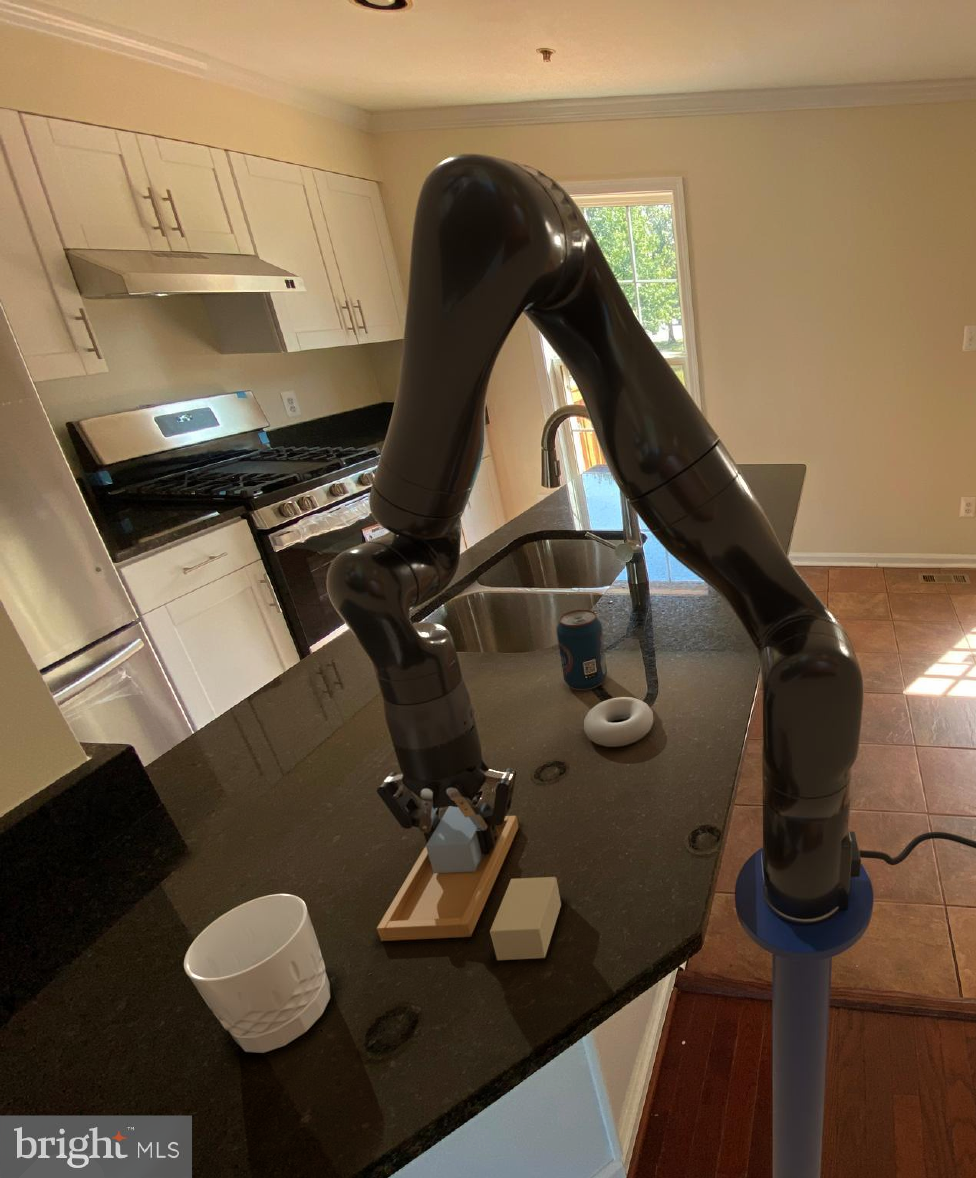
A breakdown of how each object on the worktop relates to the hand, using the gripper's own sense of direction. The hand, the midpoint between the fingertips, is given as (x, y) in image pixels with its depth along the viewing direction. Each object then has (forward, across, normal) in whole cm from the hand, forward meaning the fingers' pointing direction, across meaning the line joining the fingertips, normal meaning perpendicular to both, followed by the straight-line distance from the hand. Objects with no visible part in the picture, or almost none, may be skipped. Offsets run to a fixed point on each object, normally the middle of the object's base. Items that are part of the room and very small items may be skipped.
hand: (465, 848), depth 71 cm
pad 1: (0, 0, 0) cm, 0 cm away
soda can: (+1, +5, +37) cm, 37 cm away
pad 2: (+1, +10, -10) cm, 14 cm away
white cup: (+1, -9, -17) cm, 19 cm away
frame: (+1, 0, -3) cm, 3 cm away
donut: (+1, +13, +23) cm, 26 cm away
